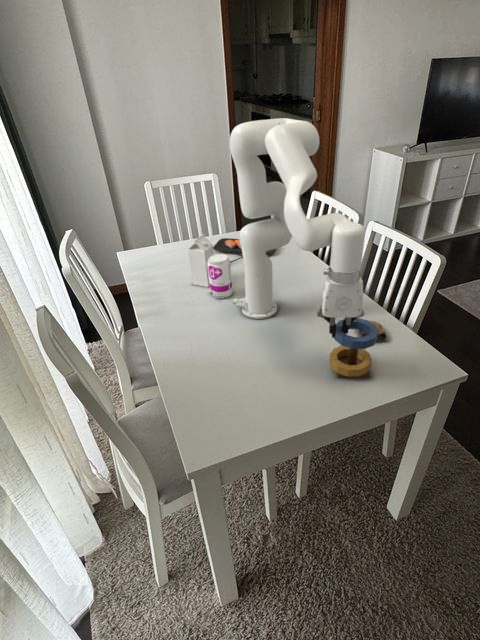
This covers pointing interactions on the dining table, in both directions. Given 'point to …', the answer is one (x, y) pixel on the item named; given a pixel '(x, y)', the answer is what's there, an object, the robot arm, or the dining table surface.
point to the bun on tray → (380, 335)
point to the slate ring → (357, 341)
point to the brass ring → (350, 369)
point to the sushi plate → (232, 246)
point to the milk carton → (200, 260)
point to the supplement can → (220, 276)
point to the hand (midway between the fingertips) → (338, 334)
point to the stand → (352, 363)
